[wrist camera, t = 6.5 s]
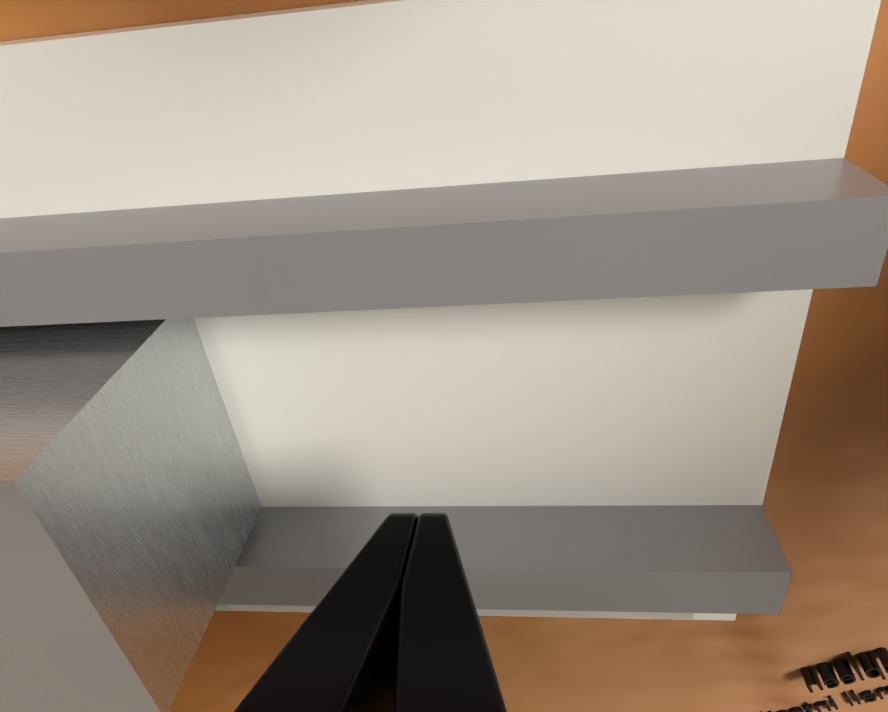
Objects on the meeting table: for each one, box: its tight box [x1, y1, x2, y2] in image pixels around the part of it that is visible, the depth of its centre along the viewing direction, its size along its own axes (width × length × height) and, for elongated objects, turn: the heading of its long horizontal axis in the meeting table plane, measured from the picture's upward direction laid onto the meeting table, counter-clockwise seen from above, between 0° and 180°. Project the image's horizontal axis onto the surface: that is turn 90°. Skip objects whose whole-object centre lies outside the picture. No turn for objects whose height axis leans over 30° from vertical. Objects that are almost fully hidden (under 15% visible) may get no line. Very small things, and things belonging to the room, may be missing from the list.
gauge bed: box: [0, 0, 888, 621], centre depth 11 cm, size 26×13×6 cm, turn 96°
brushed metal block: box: [0, 318, 261, 712], centre depth 11 cm, size 6×8×4 cm
